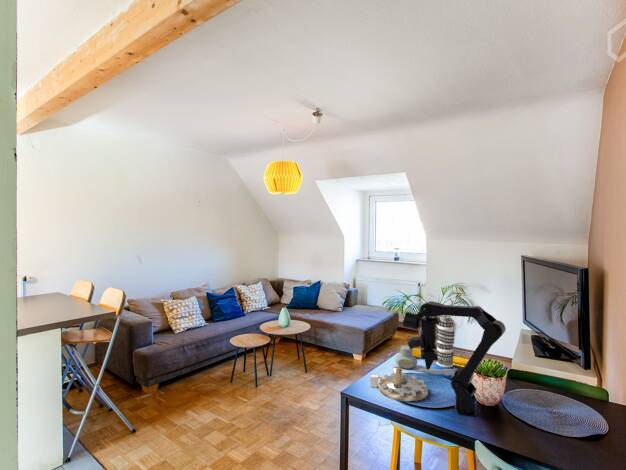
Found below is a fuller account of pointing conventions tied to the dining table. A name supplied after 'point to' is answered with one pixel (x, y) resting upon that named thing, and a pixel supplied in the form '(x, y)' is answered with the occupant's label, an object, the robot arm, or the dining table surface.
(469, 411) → the robot arm
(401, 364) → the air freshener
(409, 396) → the sprocket base
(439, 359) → the decorative candle
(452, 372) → the caliper
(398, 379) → the sprocket
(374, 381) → the pointer post
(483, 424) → the dining table surface
